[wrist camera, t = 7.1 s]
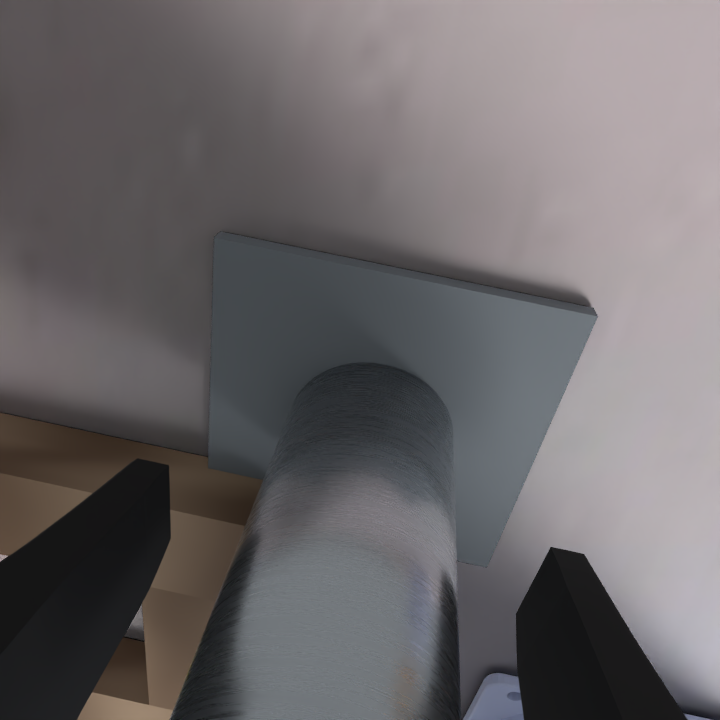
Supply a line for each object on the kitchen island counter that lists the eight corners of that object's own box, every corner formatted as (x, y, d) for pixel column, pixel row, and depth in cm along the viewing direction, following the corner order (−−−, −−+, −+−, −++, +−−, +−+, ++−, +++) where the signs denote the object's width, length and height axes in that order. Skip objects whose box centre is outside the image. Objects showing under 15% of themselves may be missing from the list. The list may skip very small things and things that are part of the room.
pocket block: (284, 473, 15) (264, 530, 14) (254, 712, 22) (238, 769, 21) (-173, 375, 16) (-248, 419, 14) (-63, 641, 23) (-104, 692, 21)
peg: (479, 393, 13) (521, 819, 6) (421, 510, 15) (403, 925, 8) (309, 340, 13) (153, 717, 6) (275, 467, 15) (131, 852, 8)
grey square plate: (593, 307, 12) (597, 316, 11) (485, 556, 16) (486, 567, 16) (220, 231, 12) (213, 237, 12) (211, 496, 16) (206, 507, 16)
